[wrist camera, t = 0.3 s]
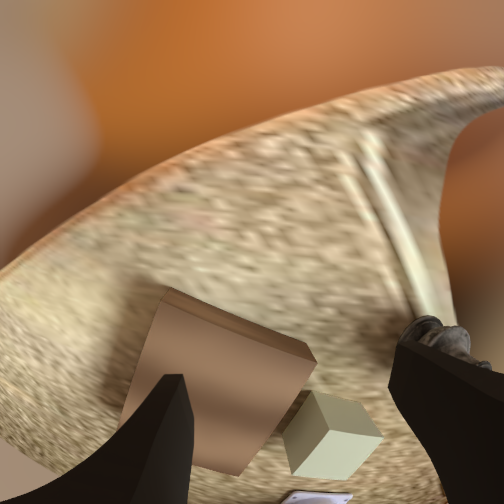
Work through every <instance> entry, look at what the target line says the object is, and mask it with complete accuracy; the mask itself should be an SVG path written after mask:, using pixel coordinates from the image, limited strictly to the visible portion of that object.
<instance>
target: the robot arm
mask: <svg viewBox="0 0 504 504" xmlns="http://www.w3.org/2000/svg"><path fill="white" fill-rule="evenodd" d="M388 389H389V391H390V393H391V396H392V398H393V400H394V402H395V404H396V406H397V408H398V410H399V411H400V413H401V414H402V416H403V417H404V419H405V420H406V422H407V423H408V425H409V426H410V428H411V429H412V431H413V432H414V434H415V435H416V437H417V438H418V440H419V441H420V443H421V444H422V446H423V447H424V449H425V450H426V452H427V454H428V455H429V457H430V459H431V461H432V463H433V465H434V467H435V469H436V472H437V474H438V476H439V478H440V481H441V483H442V486H443V489H444V491H445V494H446V497H447V500H448V503H449V504H504V374H502V373H498V372H494V371H491V370H488V369H485V368H482V367H479V366H476V365H473V364H471V363H468V362H466V361H463V360H461V359H458V358H456V357H453V356H451V355H449V354H446V353H444V352H441V351H439V350H437V349H434V348H432V347H430V346H427V345H425V344H422V343H420V342H417V341H414V340H408V341H405V342H401V343H397V348H396V353H395V358H394V363H393V367H392V372H391V376H390V380H389V384H388ZM193 450H194V414H193V411H192V407H191V403H190V400H189V396H188V392H187V388H186V384H185V380H184V376H183V374H164V375H163V376H162V377H161V379H160V380H159V381H158V382H157V384H156V385H155V386H154V388H153V389H152V390H151V392H150V393H149V394H148V396H147V397H146V398H145V399H144V401H143V402H142V403H141V404H140V406H139V407H138V408H137V409H136V410H135V412H134V413H133V414H132V415H131V416H130V418H129V419H128V420H127V421H126V422H125V423H124V424H123V425H122V426H121V427H120V428H119V430H118V431H117V432H116V433H115V434H114V435H113V436H112V437H111V438H110V439H109V440H108V441H107V442H106V443H105V444H104V445H102V446H101V447H100V448H99V449H98V450H97V451H96V452H94V453H93V454H92V455H91V456H90V457H88V458H87V459H86V460H84V461H83V462H81V463H80V464H79V465H77V466H76V467H74V468H73V469H71V470H70V471H68V472H67V473H65V474H64V475H62V476H61V477H59V478H57V479H55V480H53V481H52V482H50V483H48V484H46V485H44V486H42V487H40V488H38V489H36V490H33V491H31V492H29V493H26V494H23V495H21V496H17V497H15V498H12V499H8V500H5V501H2V502H0V504H187V498H188V490H189V482H190V474H191V466H192V458H193ZM352 497H353V495H352V494H342V493H319V492H305V491H294V492H293V493H291V494H290V495H289V496H288V497H287V498H286V499H285V500H284V501H283V502H282V503H281V504H346V503H347V502H348V501H349V500H350V499H351V498H352Z"/></svg>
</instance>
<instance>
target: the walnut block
mask: <svg viewBox="0 0 504 504" xmlns="http://www.w3.org/2000/svg"><path fill="white" fill-rule="evenodd" d="M316 365H317V361H316V360H315V358H314V356H313V354H312V353H311V351H310V349H309V347H308V346H307V344H306V343H304V342H302V341H299V340H296V339H293V338H291V337H288V336H286V335H283V334H280V333H278V332H275V331H273V330H270V329H267V328H265V327H262V326H260V325H257V324H255V323H252V322H250V321H248V320H245V319H243V318H240V317H238V316H235V315H233V314H231V313H228V312H226V311H223V310H221V309H219V308H216V307H214V306H212V305H210V304H207V303H205V302H203V301H200V300H198V299H196V298H194V297H191V296H189V295H187V294H185V293H182V292H180V291H178V290H176V289H174V288H172V287H171V288H170V289H169V290H168V292H167V293H166V294H165V295H164V297H163V298H162V299H161V301H160V303H159V306H158V308H157V311H156V314H155V316H154V319H153V322H152V324H151V327H150V330H149V333H148V335H147V338H146V341H145V344H144V346H143V349H142V352H141V355H140V358H139V361H138V364H137V367H136V370H135V373H134V376H133V379H132V382H131V385H130V388H129V391H128V394H127V397H126V401H125V404H124V407H123V410H122V414H121V417H120V420H119V424H118V427H117V431H118V430H119V428H120V427H121V426H122V425H123V424H124V423H125V422H126V421H127V420H128V419H129V418H130V416H131V415H132V414H133V413H134V412H135V410H136V409H137V408H138V407H139V406H140V404H141V403H142V402H143V401H144V399H145V398H146V397H147V396H148V394H149V393H150V392H151V390H152V389H153V388H154V386H155V385H156V384H157V382H158V381H159V380H160V379H161V377H162V376H163V375H164V374H183V376H184V380H185V384H186V388H187V392H188V396H189V400H190V403H191V407H192V411H193V414H194V450H193V458H192V465H195V466H199V467H202V468H206V469H209V470H213V471H217V472H221V473H225V474H229V475H233V476H238V477H239V475H240V474H241V473H242V472H243V471H244V469H245V468H246V467H247V465H248V464H249V463H250V462H251V460H252V459H253V458H254V456H255V455H256V454H257V453H258V451H259V450H260V449H261V447H262V446H263V445H264V443H265V442H266V440H267V439H268V438H269V436H270V435H271V434H272V432H273V431H274V429H275V428H276V426H277V425H278V424H279V422H280V421H281V419H282V418H283V416H284V415H285V413H286V412H287V410H288V409H289V408H290V406H291V405H292V403H293V401H294V400H295V398H296V397H297V395H298V394H299V392H300V391H301V389H302V388H303V386H304V384H305V383H306V381H307V380H308V378H309V376H310V375H311V373H312V371H313V370H314V368H315V366H316ZM117 431H116V432H117Z"/></svg>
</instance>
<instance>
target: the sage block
mask: <svg viewBox="0 0 504 504" xmlns="http://www.w3.org/2000/svg"><path fill="white" fill-rule="evenodd" d="M282 437H283V441H284V445H285V449H286V453H287V457H288V461H289V466H290V470H291V474H292V475H294V476H302V477H311V478H321V479H333V480H347V479H348V478H349V477H350V476H351V475H352V474H353V473H354V472H355V471H356V470H357V469H358V467H359V466H360V465H361V464H362V463H363V462H364V461H365V460H366V459H367V458H368V456H369V455H370V454H371V453H372V452H373V451H374V450H375V448H376V447H377V446H378V445H379V444H380V442H381V441H382V440H383V439H384V437H383V435H382V434H381V432H380V431H379V429H378V428H377V426H376V425H375V423H374V422H373V420H372V419H371V417H370V416H369V414H368V413H367V411H366V410H365V408H364V407H363V405H362V404H361V403H360V402H355V401H351V400H347V399H343V398H339V397H335V396H331V395H328V394H324V393H320V392H317V391H313V390H312V391H311V392H310V394H309V395H308V397H307V398H306V400H305V401H304V403H303V404H302V406H301V407H300V409H299V410H298V412H297V413H296V415H295V416H294V417H293V419H292V420H291V422H290V423H289V425H288V426H287V427H286V429H285V430H284V432H283V433H282Z"/></svg>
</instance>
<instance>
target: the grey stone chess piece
mask: <svg viewBox="0 0 504 504" xmlns="http://www.w3.org/2000/svg"><path fill="white" fill-rule="evenodd" d="M408 340H414V341H417V342H420V343H422V344H425V345H427V346H430V347H432V348H434V349H437V350H439V351H441V352H444V353H446V354H449V355H451V356H453V357H456V358H458V359H461V360H463V361H466V362H468V363H471V364H473V365H476V366H479V367H482V368H485V369H488V370H491V371H492V366H491V364H490V363H489V362H488V361H482V362H479V361H478V360H476V359H475V358H473V357H472V356H470V354H469V352H470V337H469V334H468V333H467V331H466V330H465V329H464V328H462V327H460V326H452V327H450V326H443V324H442V323H441V321H440V320H439V319H437V318H436V317H434V316H423V317H421V318H419V319H416V320H415V321H414V322H412V323H411V324H410V325H409V326H408V327H407V328H406V329H405V331H404V332H403V334H402V335H401V337H400V339H399V341H398V343H401V342H405V341H408ZM396 348H397V346H396ZM395 353H396V352H395Z"/></svg>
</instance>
